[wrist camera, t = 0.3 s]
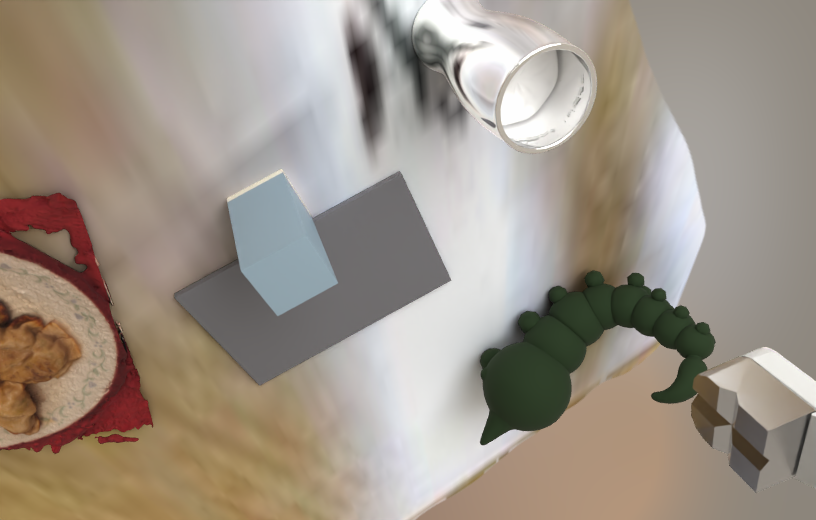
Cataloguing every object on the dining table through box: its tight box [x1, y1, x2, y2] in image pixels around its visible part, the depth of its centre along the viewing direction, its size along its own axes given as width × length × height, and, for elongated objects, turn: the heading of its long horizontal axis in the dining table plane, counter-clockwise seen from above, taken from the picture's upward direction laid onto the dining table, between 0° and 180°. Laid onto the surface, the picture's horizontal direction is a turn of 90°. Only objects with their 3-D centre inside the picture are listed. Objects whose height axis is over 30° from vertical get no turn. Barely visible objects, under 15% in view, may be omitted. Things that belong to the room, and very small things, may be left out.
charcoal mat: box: [174, 171, 451, 385], centre depth 55 cm, size 14×22×1 cm, turn 112°
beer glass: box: [412, 0, 597, 154], centre depth 40 cm, size 7×7×15 cm
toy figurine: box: [480, 271, 715, 445], centre depth 62 cm, size 9×19×25 cm
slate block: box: [227, 169, 338, 316], centre depth 45 cm, size 5×5×10 cm
